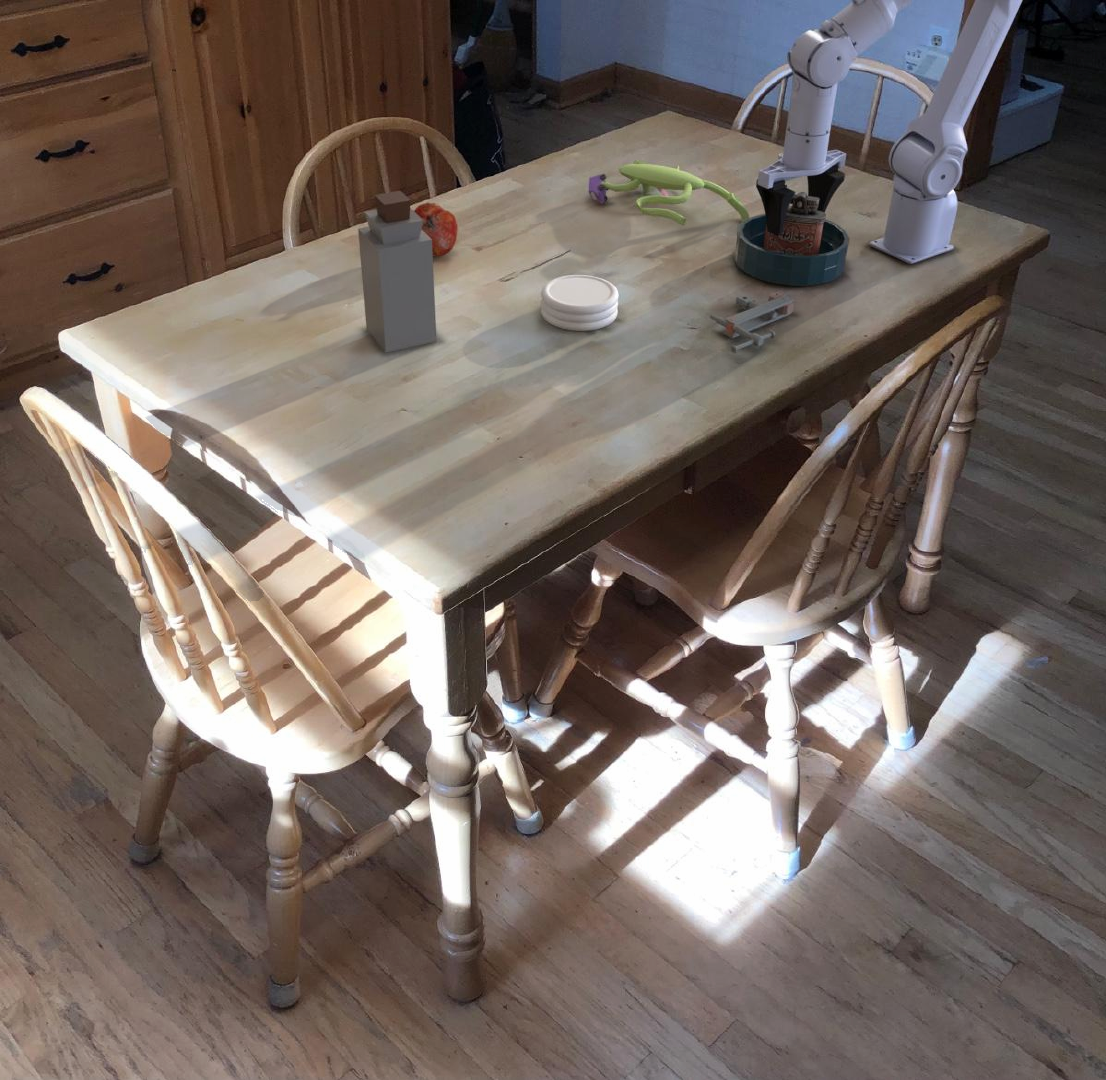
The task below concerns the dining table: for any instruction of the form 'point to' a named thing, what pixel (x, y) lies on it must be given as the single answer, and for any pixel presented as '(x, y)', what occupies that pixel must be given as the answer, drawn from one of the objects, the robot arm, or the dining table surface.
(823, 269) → the bowl
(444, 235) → the pomegranate
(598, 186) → the figurine
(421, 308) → the perfume bottle
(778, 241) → the lighter
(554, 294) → the coaster
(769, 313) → the clamp
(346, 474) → the dining table surface
